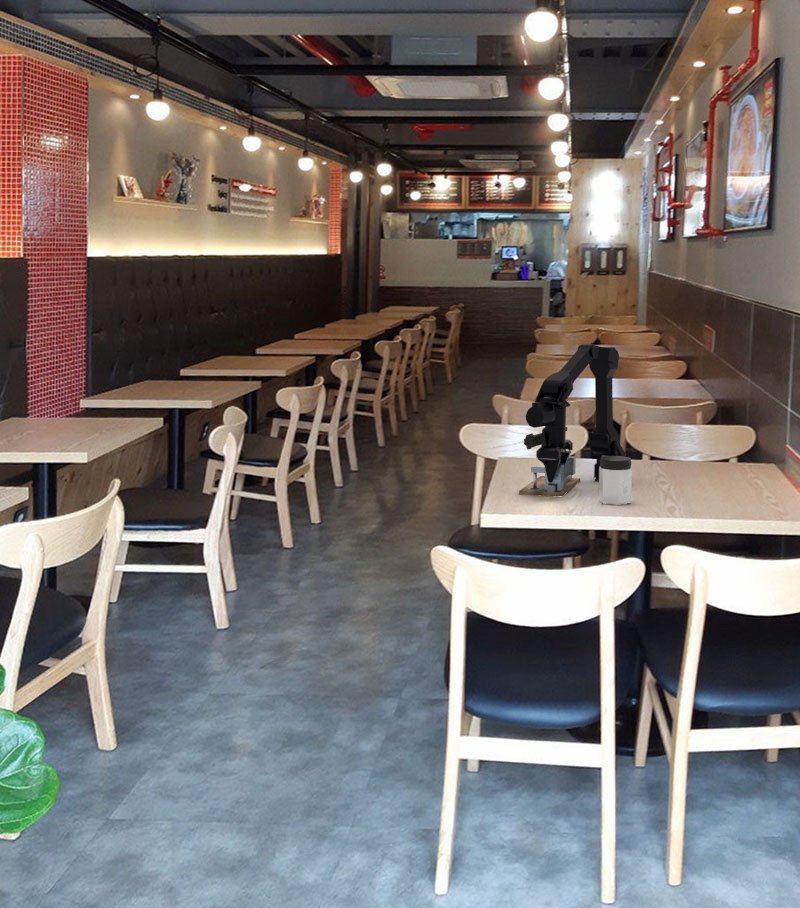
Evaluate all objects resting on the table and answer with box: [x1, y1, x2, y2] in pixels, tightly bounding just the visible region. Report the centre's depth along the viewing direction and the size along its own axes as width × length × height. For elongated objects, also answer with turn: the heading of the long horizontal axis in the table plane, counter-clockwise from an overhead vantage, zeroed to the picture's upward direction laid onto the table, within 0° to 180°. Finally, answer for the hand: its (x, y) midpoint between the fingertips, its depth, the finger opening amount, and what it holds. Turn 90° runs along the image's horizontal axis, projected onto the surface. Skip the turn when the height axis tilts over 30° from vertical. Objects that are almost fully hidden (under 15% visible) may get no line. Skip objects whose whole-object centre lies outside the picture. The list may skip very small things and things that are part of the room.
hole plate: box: [518, 475, 581, 497], centre depth 333 cm, size 12×25×1 cm, turn 159°
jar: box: [597, 456, 633, 506], centre depth 312 cm, size 9×8×12 cm
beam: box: [547, 455, 577, 493], centre depth 331 cm, size 9×22×7 cm, turn 159°
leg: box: [530, 464, 564, 491], centre depth 325 cm, size 9×4×7 cm, turn 69°
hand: (554, 479), depth 324 cm, fingers open, 9 cm apart
